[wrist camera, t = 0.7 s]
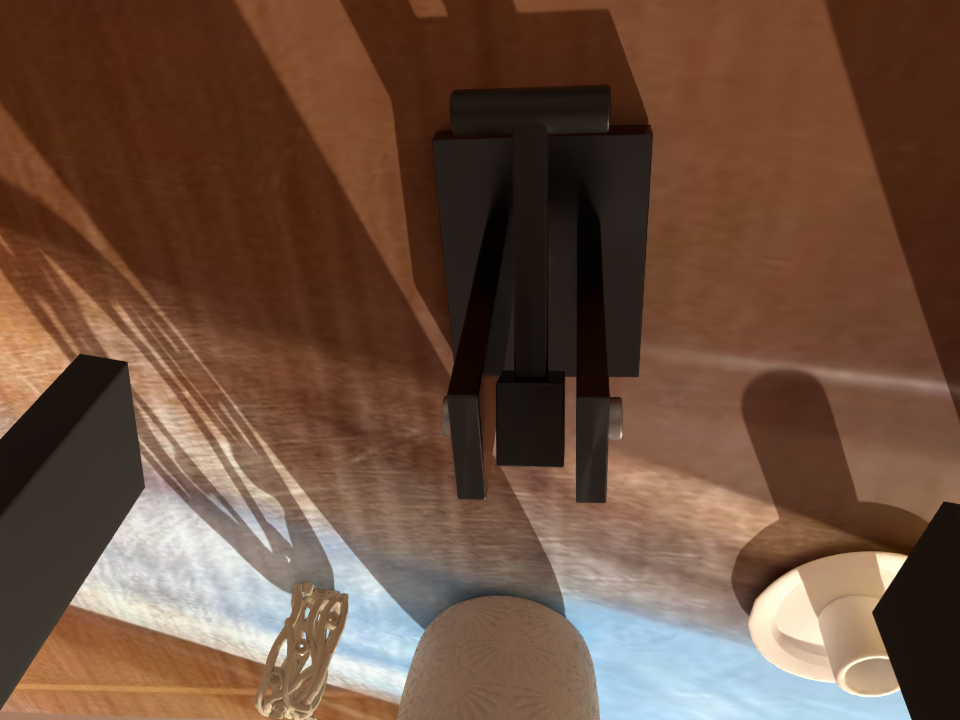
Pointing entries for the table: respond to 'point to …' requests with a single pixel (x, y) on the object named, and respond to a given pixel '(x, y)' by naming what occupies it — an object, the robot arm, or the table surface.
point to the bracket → (571, 285)
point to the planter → (500, 665)
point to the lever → (530, 253)
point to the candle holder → (829, 621)
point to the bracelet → (291, 697)
